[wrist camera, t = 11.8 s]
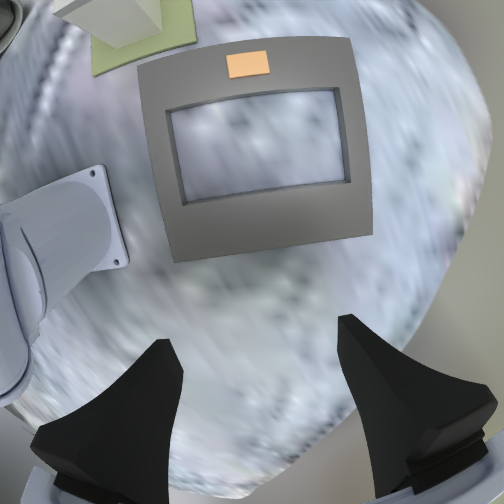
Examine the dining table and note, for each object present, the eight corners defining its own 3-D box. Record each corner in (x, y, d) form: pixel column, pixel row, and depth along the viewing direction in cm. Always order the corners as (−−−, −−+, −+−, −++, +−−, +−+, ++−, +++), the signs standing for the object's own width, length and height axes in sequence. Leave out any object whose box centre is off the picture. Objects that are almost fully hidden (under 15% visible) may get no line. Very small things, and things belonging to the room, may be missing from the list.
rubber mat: (94, 77, 14) (92, 76, 14) (94, 3, 11) (92, 1, 11) (197, 43, 14) (196, 40, 13) (187, -31, 11) (186, -33, 10)
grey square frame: (178, 256, 20) (173, 265, 18) (143, 70, 14) (134, 64, 13) (366, 229, 19) (375, 236, 17) (343, 43, 14) (351, 35, 12)
